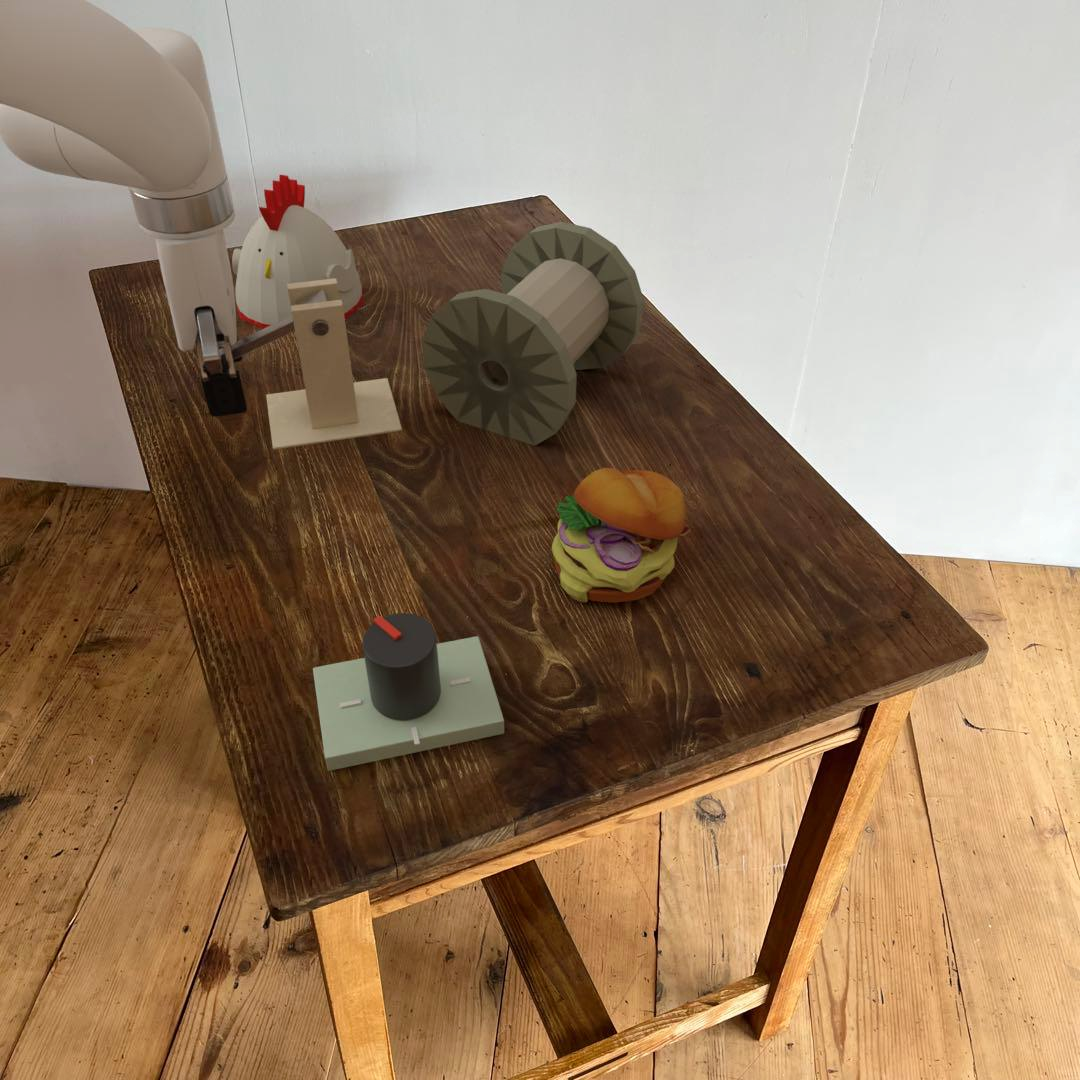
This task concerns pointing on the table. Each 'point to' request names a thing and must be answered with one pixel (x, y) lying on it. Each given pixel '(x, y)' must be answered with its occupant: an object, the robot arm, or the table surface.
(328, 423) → the wooden stand
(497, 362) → the spool
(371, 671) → the knob
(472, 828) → the table surface
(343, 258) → the kitchen timer
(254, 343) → the lever
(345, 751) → the dial panel
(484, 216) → the table surface
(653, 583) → the cheeseburger
